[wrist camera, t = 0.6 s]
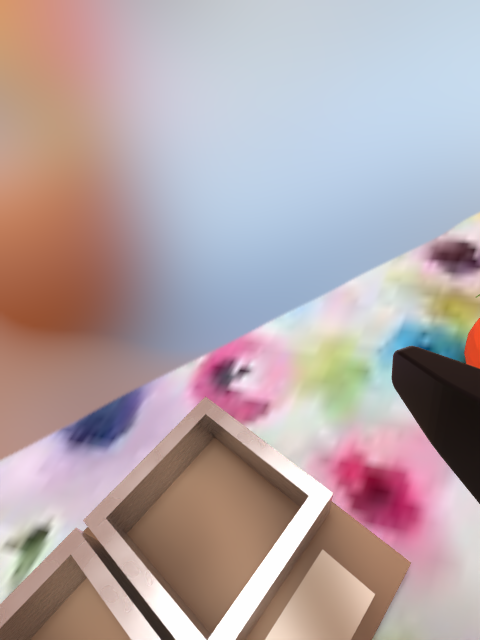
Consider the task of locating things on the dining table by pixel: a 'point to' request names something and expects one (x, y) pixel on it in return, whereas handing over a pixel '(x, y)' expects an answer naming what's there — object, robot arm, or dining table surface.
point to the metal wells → (134, 567)
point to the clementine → (473, 346)
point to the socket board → (247, 560)
